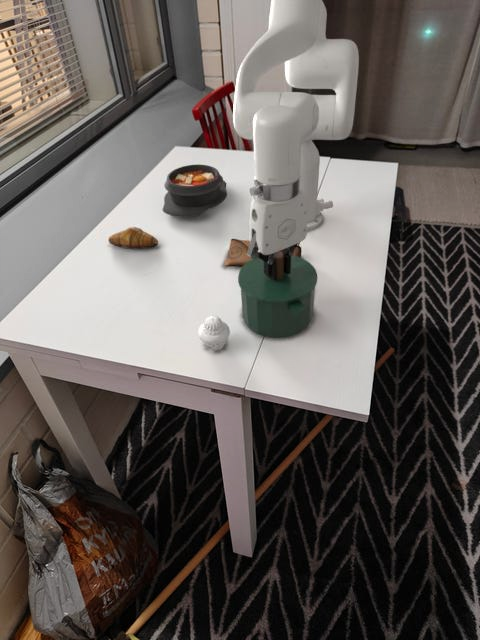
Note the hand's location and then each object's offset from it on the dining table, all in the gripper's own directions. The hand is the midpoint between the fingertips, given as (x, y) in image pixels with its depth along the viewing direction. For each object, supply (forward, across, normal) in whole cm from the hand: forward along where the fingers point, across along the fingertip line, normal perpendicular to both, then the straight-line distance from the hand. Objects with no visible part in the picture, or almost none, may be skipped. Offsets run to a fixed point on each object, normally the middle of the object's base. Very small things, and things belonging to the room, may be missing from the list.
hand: (277, 273), depth 90 cm
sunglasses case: (+11, +8, +18) cm, 22 cm away
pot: (+11, 0, 0) cm, 11 cm away
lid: (+1, 0, 0) cm, 1 cm away
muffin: (+11, -15, 0) cm, 19 cm away
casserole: (+11, +10, +55) cm, 57 cm away
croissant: (+11, -14, +44) cm, 48 cm away
